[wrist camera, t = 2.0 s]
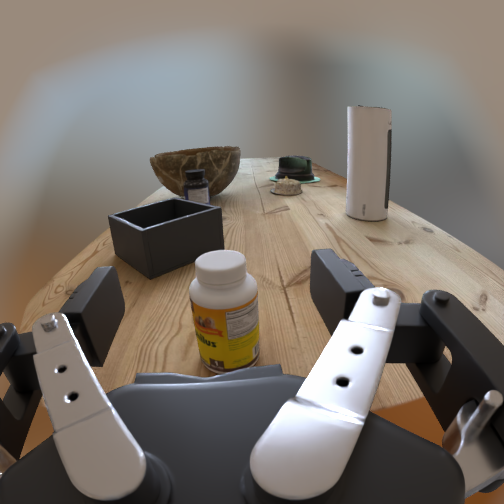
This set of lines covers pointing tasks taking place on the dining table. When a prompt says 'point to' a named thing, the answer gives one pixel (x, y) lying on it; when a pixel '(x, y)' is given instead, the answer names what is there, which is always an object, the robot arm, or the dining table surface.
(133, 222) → the open storage box
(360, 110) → the speaker
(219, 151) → the bowl
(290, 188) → the cake
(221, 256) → the supplement bottle
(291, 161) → the fedora hat
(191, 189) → the pill bottle
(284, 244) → the dining table surface
